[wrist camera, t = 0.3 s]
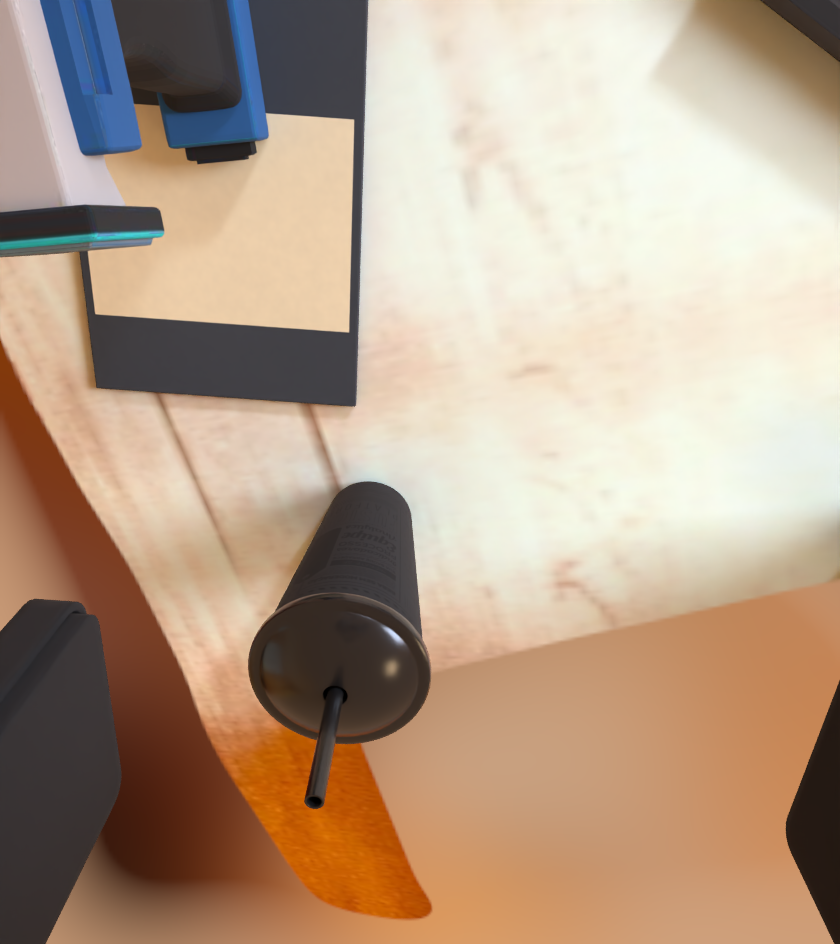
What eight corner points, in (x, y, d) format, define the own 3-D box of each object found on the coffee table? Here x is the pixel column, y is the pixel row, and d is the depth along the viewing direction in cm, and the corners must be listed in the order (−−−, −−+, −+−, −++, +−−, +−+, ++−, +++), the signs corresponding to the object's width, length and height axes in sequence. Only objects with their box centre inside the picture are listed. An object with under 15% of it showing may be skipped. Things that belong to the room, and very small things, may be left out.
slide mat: (13, -310, 28) (7, -316, 28) (376, -285, 28) (375, -290, 28) (99, 385, 40) (96, 388, 40) (356, 404, 40) (355, 406, 40)
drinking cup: (293, 556, 44) (186, 852, 26) (319, 443, 41) (220, 691, 23) (415, 587, 45) (395, 896, 27) (451, 478, 42) (454, 746, 24)
